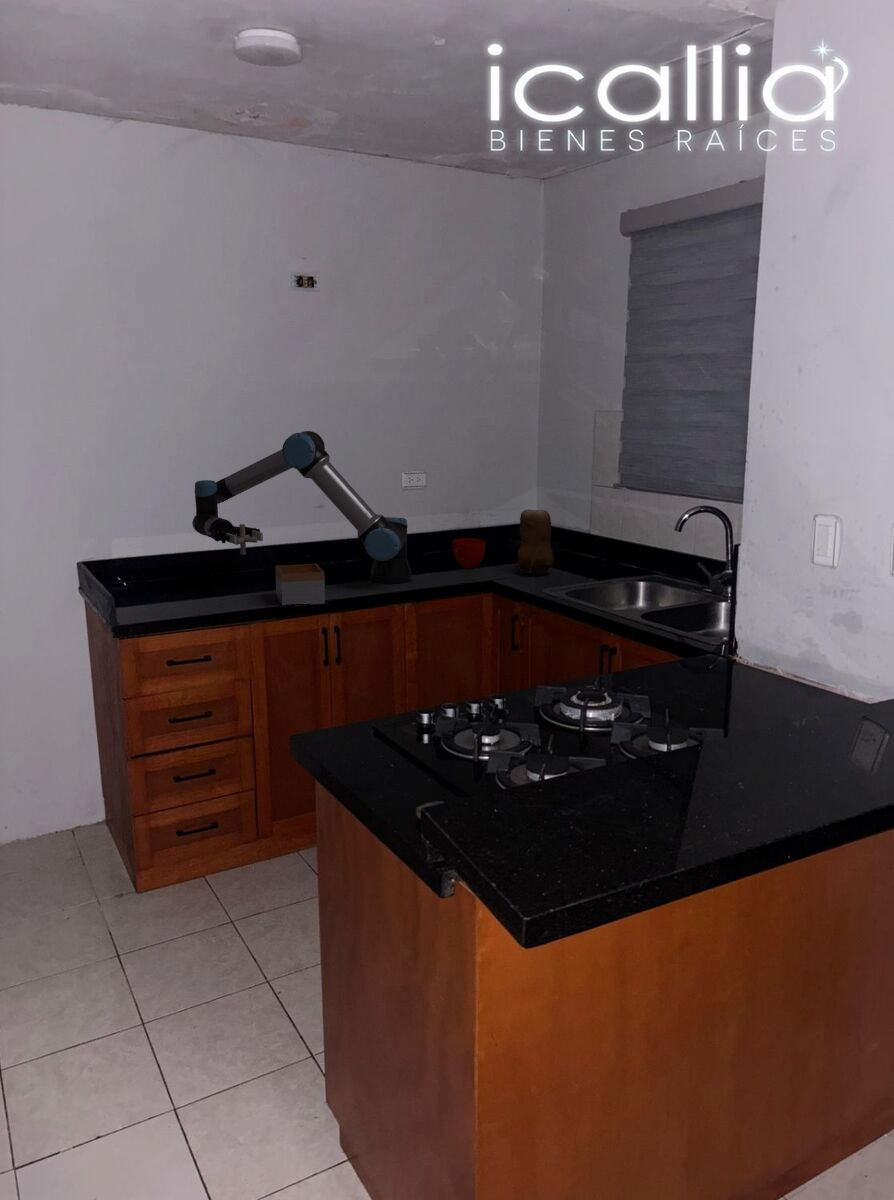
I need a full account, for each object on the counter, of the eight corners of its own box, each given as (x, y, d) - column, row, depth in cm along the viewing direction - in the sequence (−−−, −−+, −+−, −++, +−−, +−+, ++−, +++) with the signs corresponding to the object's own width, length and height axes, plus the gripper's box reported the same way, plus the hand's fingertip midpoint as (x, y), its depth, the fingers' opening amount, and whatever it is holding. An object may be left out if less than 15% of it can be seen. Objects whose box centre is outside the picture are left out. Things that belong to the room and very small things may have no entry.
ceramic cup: (440, 568, 364) (440, 543, 362) (462, 561, 378) (463, 537, 376) (469, 572, 358) (469, 547, 355) (491, 565, 372) (491, 540, 369)
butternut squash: (532, 569, 366) (535, 505, 360) (559, 574, 357) (562, 509, 351) (509, 574, 356) (511, 508, 350) (536, 580, 347) (539, 513, 341)
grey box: (317, 593, 322) (316, 563, 319) (324, 603, 309) (324, 572, 306) (276, 596, 318) (275, 565, 315) (282, 606, 305) (281, 574, 302)
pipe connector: (251, 557, 308) (250, 527, 306) (223, 556, 310) (221, 526, 308) (263, 552, 318) (262, 523, 315) (235, 550, 320) (234, 521, 317)
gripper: (248, 536, 333) (278, 546, 316) (190, 542, 321) (218, 553, 303) (247, 515, 332) (277, 524, 314) (189, 521, 319) (217, 530, 302)
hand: (248, 538), depth 309 cm, fingers closed on pipe connector, 9 cm apart
